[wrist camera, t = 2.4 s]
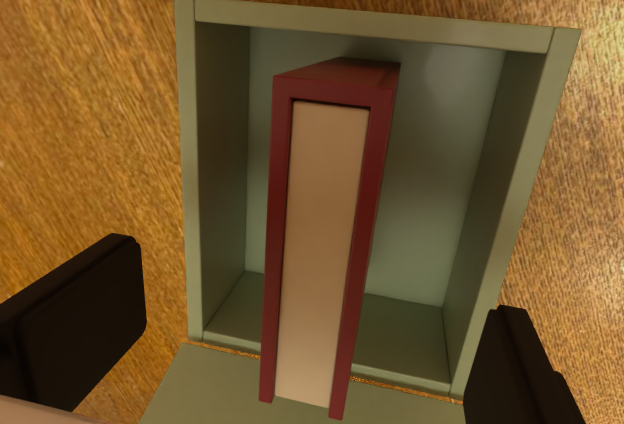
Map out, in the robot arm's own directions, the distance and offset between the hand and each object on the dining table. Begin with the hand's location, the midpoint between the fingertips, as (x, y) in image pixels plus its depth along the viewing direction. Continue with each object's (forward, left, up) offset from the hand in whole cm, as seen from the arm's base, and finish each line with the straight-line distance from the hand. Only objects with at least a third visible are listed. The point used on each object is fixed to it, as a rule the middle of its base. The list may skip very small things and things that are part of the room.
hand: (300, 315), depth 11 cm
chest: (0, 0, -13) cm, 13 cm away
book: (0, 0, -13) cm, 13 cm away
